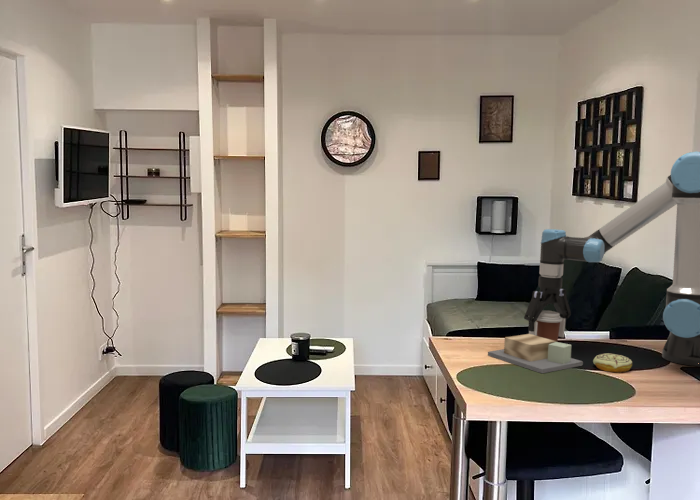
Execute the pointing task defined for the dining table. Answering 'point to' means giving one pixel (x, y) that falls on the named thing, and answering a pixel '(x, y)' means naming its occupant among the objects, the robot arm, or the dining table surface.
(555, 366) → the build board
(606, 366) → the decorated donut
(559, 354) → the sage cube
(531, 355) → the oak plinth
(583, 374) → the dining table surface
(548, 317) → the coffee cup
